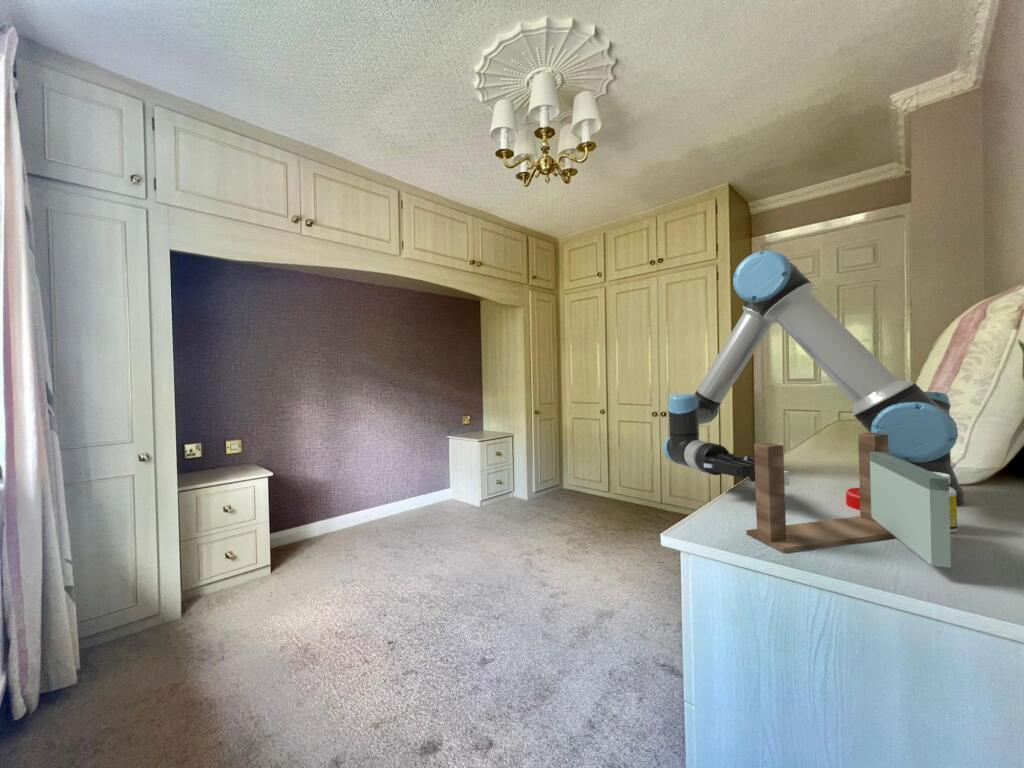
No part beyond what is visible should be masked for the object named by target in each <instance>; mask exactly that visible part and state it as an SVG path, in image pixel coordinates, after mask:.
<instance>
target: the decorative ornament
mask: <svg viewBox="0 0 1024 768" xmlns="http://www.w3.org/2000/svg"><path fill="white" fill-rule="evenodd" d="M845 505H846V506H847V507H849V508H852V509H853V510H857V511H860V487H852V488H848V489H846V490H845Z"/></svg>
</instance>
